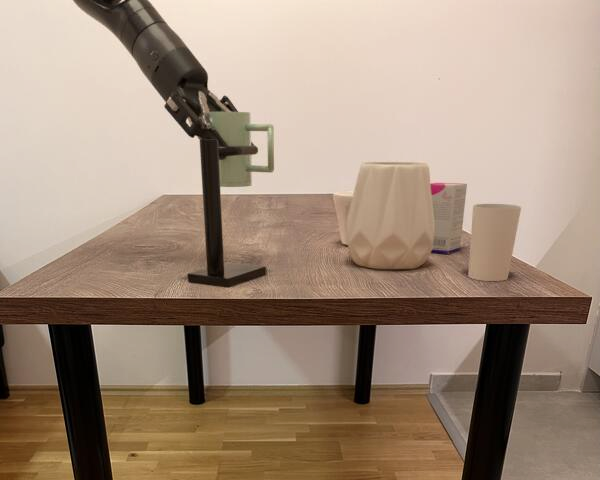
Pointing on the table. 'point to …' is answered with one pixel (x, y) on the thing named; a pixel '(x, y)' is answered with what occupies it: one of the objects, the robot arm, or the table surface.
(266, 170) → the mug
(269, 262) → the table surface
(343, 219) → the cup
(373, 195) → the vase
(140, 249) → the table surface
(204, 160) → the mug rack
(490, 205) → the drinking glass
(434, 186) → the supplement box
